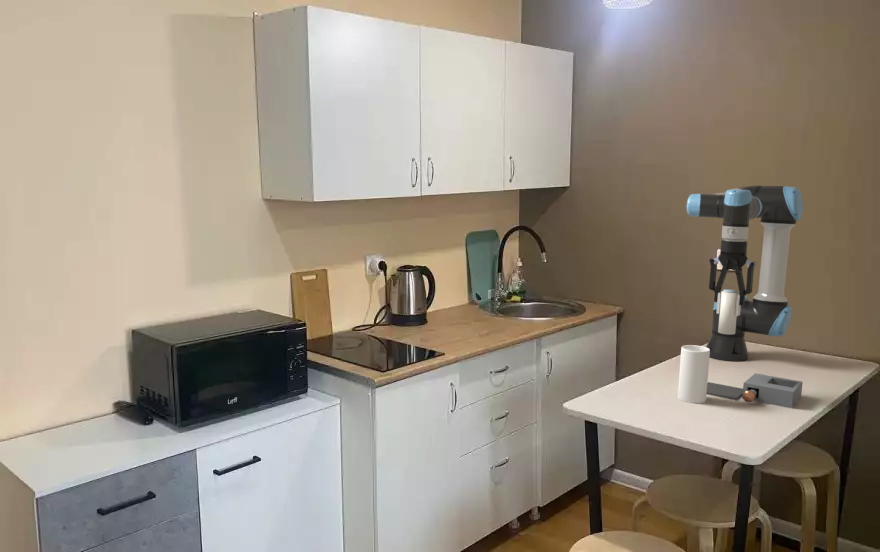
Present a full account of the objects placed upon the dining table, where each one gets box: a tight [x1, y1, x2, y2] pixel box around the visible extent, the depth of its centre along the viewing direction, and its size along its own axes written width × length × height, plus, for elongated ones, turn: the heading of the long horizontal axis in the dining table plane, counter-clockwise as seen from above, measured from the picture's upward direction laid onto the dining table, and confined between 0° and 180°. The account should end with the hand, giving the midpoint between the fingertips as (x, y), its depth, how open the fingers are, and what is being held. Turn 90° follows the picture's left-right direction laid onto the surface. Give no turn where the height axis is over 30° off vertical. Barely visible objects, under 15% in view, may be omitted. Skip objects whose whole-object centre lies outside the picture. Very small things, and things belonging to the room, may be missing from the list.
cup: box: [677, 344, 710, 404], centre depth 220 cm, size 8×8×16 cm
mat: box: [706, 381, 743, 401], centre depth 230 cm, size 12×12×1 cm
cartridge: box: [718, 288, 740, 335], centre depth 226 cm, size 5×5×14 cm
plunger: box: [741, 388, 759, 403], centre depth 221 cm, size 10×3×3 cm, turn 143°
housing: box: [741, 373, 804, 409], centre depth 224 cm, size 14×14×5 cm
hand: (728, 313), depth 226 cm, fingers closed on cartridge, 5 cm apart
